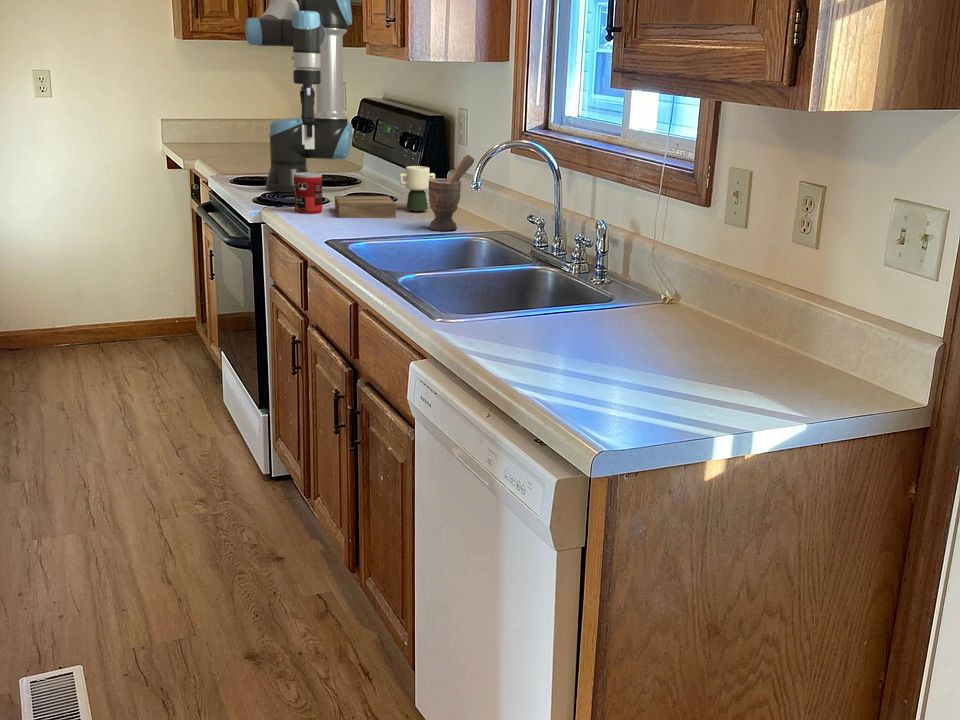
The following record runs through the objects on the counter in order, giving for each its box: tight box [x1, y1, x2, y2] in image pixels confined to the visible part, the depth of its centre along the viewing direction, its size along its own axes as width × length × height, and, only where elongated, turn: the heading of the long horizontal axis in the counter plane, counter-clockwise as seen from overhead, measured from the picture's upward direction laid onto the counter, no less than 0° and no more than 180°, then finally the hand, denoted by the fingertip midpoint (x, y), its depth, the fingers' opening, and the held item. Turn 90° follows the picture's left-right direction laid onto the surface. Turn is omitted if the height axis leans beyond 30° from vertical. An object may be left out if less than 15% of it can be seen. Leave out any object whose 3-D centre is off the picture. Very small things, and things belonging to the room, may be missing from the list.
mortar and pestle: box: [428, 154, 475, 232], centre depth 268 cm, size 12×9×20 cm
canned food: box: [293, 171, 323, 215], centre depth 290 cm, size 8×8×11 cm
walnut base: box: [334, 195, 397, 219], centre depth 292 cm, size 16×16×4 cm
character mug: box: [399, 165, 436, 212], centre depth 297 cm, size 11×7×13 cm, turn 110°
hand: (308, 146), depth 286 cm, fingers open, 13 cm apart
